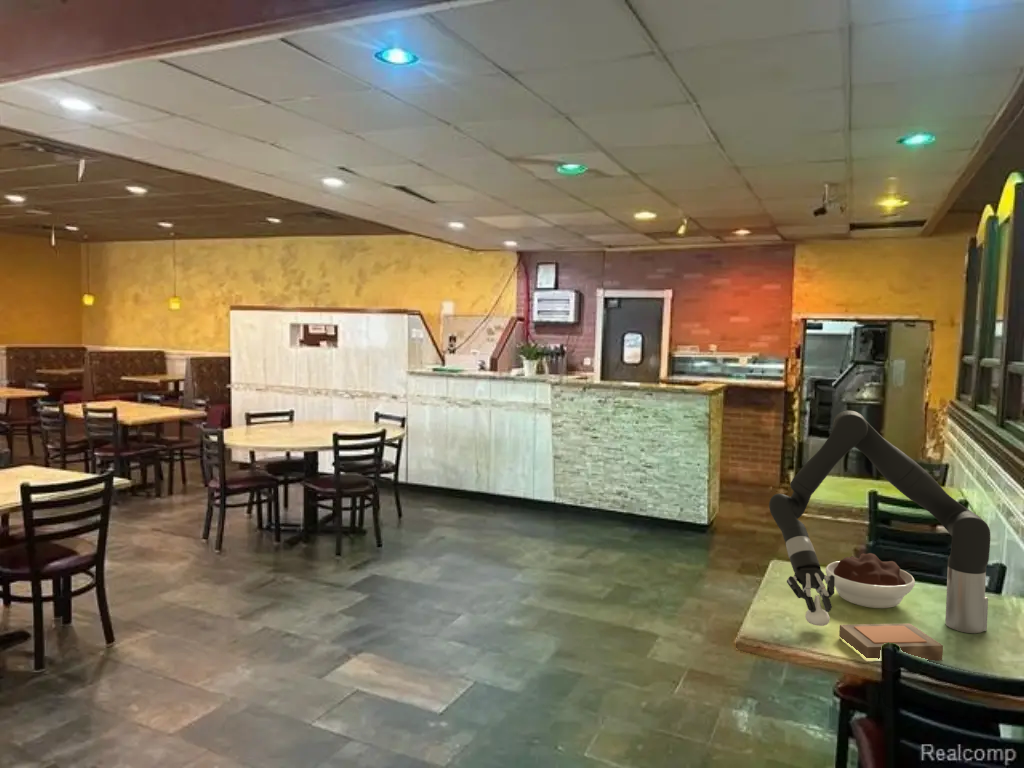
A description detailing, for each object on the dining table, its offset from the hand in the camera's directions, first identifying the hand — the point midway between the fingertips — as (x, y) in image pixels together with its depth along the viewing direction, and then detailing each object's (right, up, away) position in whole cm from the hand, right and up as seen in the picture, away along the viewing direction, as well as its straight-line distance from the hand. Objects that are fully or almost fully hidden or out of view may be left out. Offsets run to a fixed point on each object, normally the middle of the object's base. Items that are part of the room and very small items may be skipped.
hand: (821, 610), depth 196 cm
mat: (+14, -3, -9) cm, 17 cm away
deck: (+14, -7, -9) cm, 18 cm away
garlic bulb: (0, -4, +2) cm, 5 cm away
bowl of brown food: (+26, -5, +24) cm, 36 cm away
